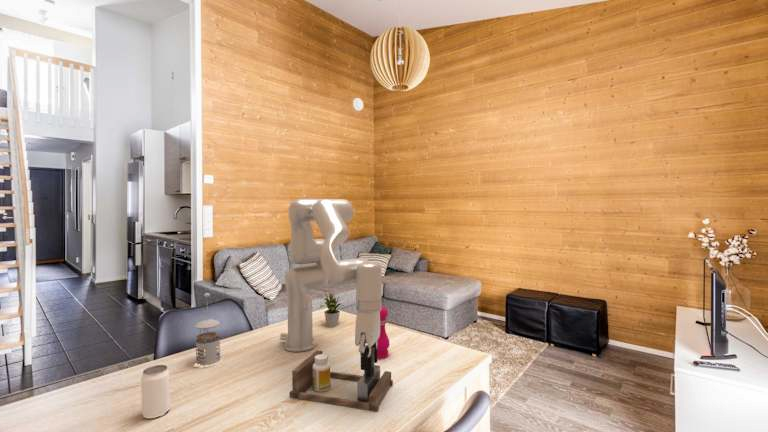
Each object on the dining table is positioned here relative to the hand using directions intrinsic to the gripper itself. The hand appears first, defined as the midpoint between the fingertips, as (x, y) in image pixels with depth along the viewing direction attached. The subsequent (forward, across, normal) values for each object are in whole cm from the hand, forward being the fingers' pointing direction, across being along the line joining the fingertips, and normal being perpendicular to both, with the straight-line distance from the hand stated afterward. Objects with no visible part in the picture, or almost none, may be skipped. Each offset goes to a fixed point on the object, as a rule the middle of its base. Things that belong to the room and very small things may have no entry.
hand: (369, 365), depth 110 cm
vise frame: (+9, 0, -8) cm, 12 cm away
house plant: (+9, -55, -38) cm, 68 cm away
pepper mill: (+9, -28, -6) cm, 30 cm away
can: (+9, +25, -52) cm, 59 cm away
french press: (+9, -6, -64) cm, 64 cm away
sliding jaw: (+9, 0, 0) cm, 9 cm away
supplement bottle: (+9, 0, -16) cm, 18 cm away
